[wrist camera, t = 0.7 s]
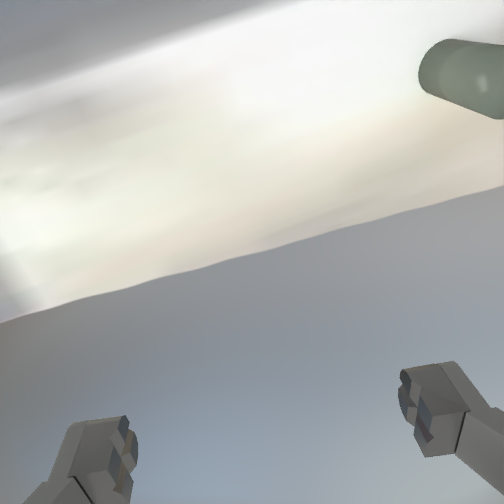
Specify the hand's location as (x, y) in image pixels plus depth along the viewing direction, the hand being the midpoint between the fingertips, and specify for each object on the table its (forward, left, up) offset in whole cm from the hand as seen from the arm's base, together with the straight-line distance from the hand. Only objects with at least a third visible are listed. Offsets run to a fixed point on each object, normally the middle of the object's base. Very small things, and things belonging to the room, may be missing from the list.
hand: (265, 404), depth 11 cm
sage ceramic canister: (-2, +22, -32) cm, 39 cm away
